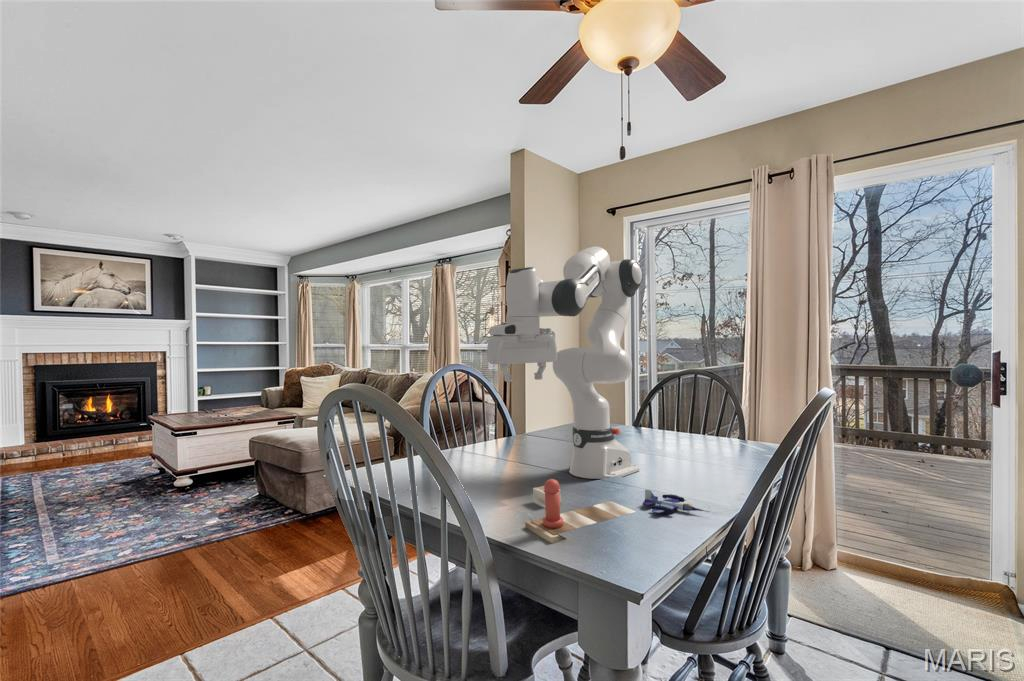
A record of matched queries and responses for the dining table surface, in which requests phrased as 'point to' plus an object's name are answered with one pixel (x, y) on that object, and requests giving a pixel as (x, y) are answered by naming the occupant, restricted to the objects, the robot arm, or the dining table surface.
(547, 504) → the pawn
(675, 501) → the toy airplane
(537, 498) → the die
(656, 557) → the dining table surface
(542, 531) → the track board
